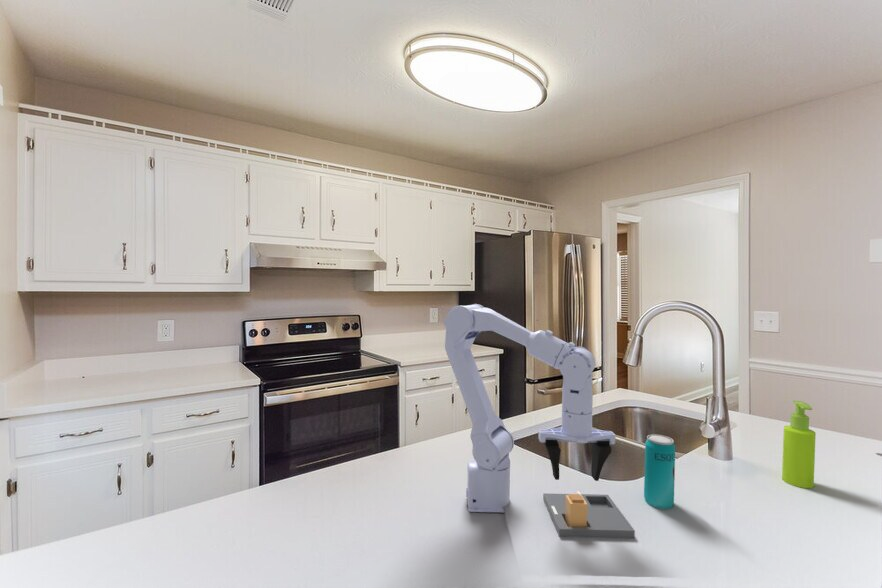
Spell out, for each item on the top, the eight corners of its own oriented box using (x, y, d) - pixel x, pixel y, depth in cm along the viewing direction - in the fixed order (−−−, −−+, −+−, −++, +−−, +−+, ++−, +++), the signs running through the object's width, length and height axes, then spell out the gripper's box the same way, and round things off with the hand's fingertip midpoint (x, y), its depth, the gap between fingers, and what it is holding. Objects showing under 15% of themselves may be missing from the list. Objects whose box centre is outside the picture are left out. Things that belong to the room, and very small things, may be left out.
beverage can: (677, 515, 86) (679, 444, 86) (648, 512, 87) (649, 442, 87) (668, 501, 92) (670, 434, 91) (640, 498, 93) (642, 432, 92)
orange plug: (569, 532, 78) (570, 501, 78) (565, 522, 81) (565, 492, 81) (586, 532, 78) (587, 501, 78) (581, 522, 81) (581, 492, 81)
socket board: (559, 541, 77) (559, 528, 77) (542, 501, 91) (542, 490, 91) (634, 543, 77) (634, 530, 77) (605, 502, 91) (605, 491, 91)
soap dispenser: (789, 487, 98) (792, 404, 98) (778, 475, 105) (780, 397, 104) (820, 492, 96) (823, 407, 96) (807, 479, 103) (810, 400, 102)
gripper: (544, 415, 77) (542, 486, 78) (622, 417, 77) (620, 489, 77) (536, 404, 84) (535, 469, 85) (608, 406, 84) (606, 471, 84)
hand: (575, 477), depth 81 cm, fingers open, 7 cm apart
